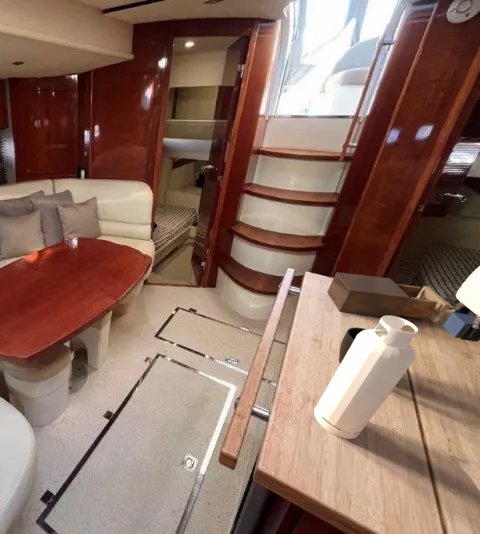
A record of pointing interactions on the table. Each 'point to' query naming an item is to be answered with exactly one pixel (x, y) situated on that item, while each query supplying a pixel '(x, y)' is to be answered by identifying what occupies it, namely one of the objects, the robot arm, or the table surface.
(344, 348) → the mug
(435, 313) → the drawer
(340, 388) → the bottle
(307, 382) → the table surface
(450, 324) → the block
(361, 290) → the cabinet
